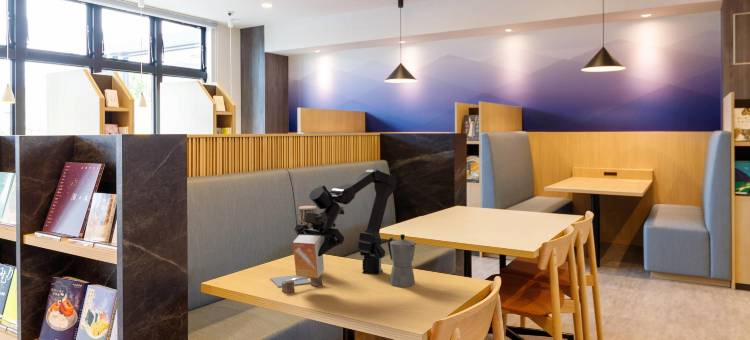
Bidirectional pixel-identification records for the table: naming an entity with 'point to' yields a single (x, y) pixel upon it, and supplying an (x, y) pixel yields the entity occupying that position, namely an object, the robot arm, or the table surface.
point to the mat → (279, 280)
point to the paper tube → (302, 214)
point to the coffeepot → (401, 261)
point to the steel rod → (296, 279)
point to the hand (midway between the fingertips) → (308, 254)
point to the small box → (308, 256)
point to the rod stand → (289, 286)
